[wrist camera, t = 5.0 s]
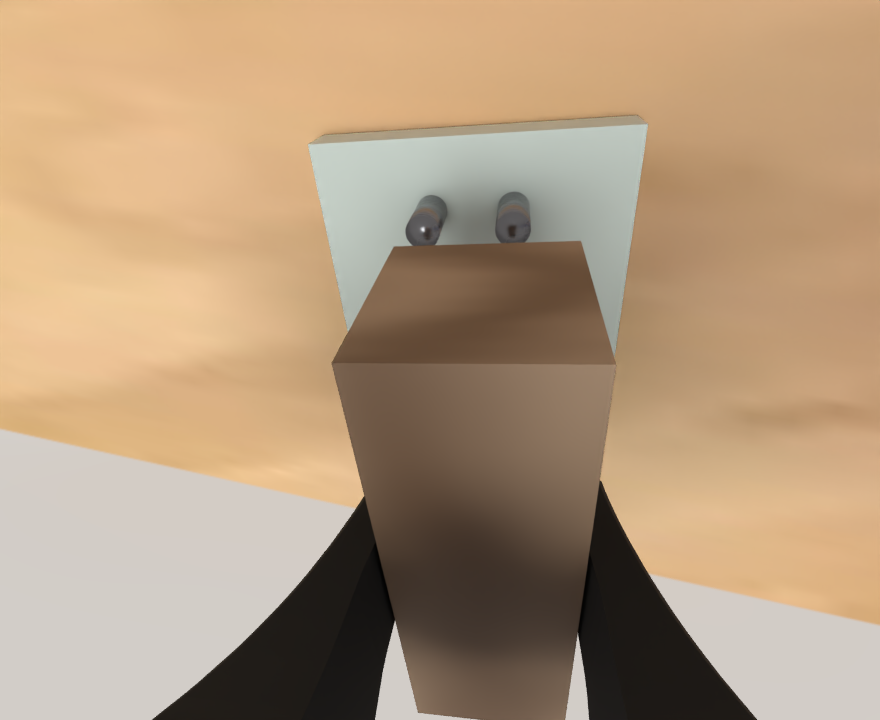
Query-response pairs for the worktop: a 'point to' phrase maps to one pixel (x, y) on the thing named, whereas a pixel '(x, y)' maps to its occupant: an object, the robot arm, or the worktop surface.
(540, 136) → the peg stand
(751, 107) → the worktop surface
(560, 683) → the walnut plank
